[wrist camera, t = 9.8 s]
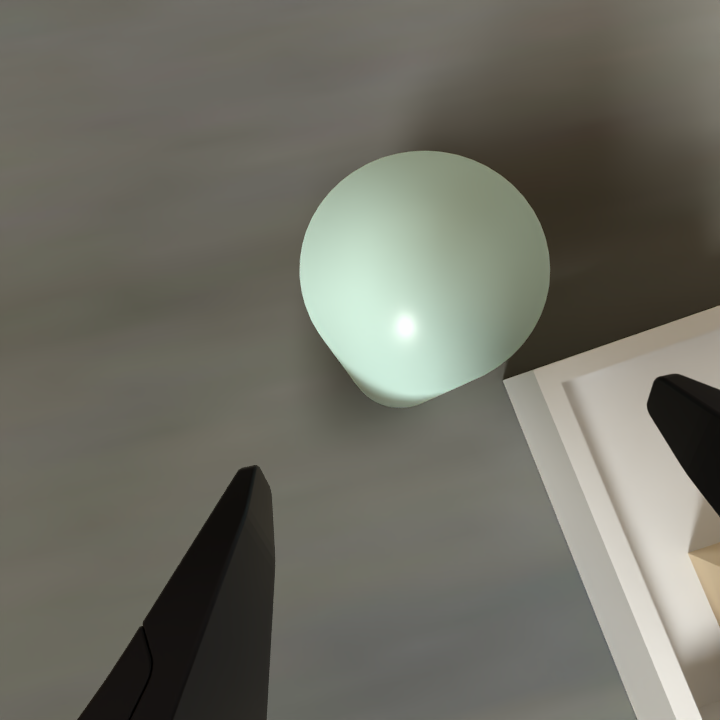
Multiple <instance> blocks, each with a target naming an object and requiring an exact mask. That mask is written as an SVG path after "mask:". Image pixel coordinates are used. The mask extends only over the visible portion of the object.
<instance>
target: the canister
mask: <svg viewBox="0 0 720 720" xmlns="http://www.w3.org/2000/svg"><path fill="white" fill-rule="evenodd" d="M549 281H550V260H549V251H548V247H547V242H546V238H545V235H544V232H543V230H542V227H541V224H540V222H539V220H538V218H537V216H536V214H535V213H534V211H533V209H532V208H531V206H530V205H529V203H528V202H527V201H526V199H525V198H524V196H523V195H522V194H521V193H520V192H519V191H518V190H517V189H516V188H515V187H514V186H513V185H512V184H511V183H510V182H509V181H507V180H506V179H505V178H504V177H502V176H501V175H500V174H498V173H497V172H495V171H494V170H492V169H490V168H489V167H487V166H485V165H483V164H481V163H479V162H477V161H474V160H472V159H469V158H466V157H463V156H460V155H456V154H451V153H446V152H438V151H410V152H404V153H398V154H394V155H390V156H387V157H383V158H380V159H378V160H375V161H373V162H371V163H368V164H366V165H364V166H363V167H361V168H359V169H358V170H356V171H354V172H353V173H351V174H350V175H349V176H347V177H346V178H345V179H343V180H342V181H341V182H340V183H339V184H338V185H337V186H336V187H335V188H333V189H332V190H331V191H330V193H329V194H328V195H327V196H326V198H325V199H324V200H323V201H322V203H321V204H320V205H319V207H318V209H317V210H316V212H315V214H314V215H313V217H312V219H311V222H310V224H309V226H308V228H307V231H306V234H305V238H304V241H303V244H302V250H301V257H300V282H301V290H302V295H303V298H304V302H305V306H306V308H307V311H308V313H309V316H310V318H311V321H312V322H313V324H314V326H315V327H316V329H317V331H318V333H319V334H320V336H321V337H322V338H323V340H324V341H325V343H326V344H327V345H328V347H329V348H330V349H331V351H332V352H333V354H334V355H335V356H336V358H337V359H338V360H339V362H340V363H341V365H342V366H343V367H344V369H345V370H346V371H347V373H348V374H349V375H350V377H351V378H352V380H353V381H354V382H355V384H356V385H357V386H358V388H359V389H360V390H361V391H362V392H363V393H364V394H365V395H366V396H367V397H368V398H370V399H371V400H373V401H375V402H376V403H379V404H381V405H384V406H387V407H392V408H408V407H413V406H416V405H419V404H421V403H424V402H426V401H428V400H430V399H433V398H435V397H437V396H439V395H441V394H444V393H446V392H448V391H450V390H452V389H455V388H457V387H459V386H461V385H464V384H466V383H468V382H470V381H472V380H475V379H477V378H479V377H481V376H483V375H485V374H487V373H489V372H490V371H492V370H494V369H495V368H497V367H499V366H500V365H501V364H502V363H504V362H505V361H506V360H507V359H509V358H510V357H511V356H512V355H513V354H514V353H515V352H516V351H517V350H518V349H519V348H520V347H521V346H522V345H523V344H524V342H525V341H526V340H527V338H528V337H529V335H530V334H531V333H532V331H533V330H534V328H535V326H536V324H537V322H538V320H539V318H540V316H541V313H542V311H543V308H544V305H545V302H546V298H547V294H548V289H549Z"/></svg>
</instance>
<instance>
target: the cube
mask: <svg viewBox="0 0 720 720" xmlns="http://www.w3.org/2000/svg"><path fill="white" fill-rule="evenodd" d="M688 555H689V557H690V560H691V562H692V564H693V567H694V569H695V571H696V574H697V576H698V578H699V581H700V583H701V585H702V588H703V590H704V592H705V595H706V597H707V599H708V602H709V604H710V606H711V609H712V611H713V613H714V616H715V618H716V620H717V623H718V625H719V627H720V542H719V543H716V544H713V545H710V546H707V547H704V548H701V549H698V550H695V551H692V552H689V553H688Z"/></svg>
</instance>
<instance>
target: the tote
mask: <svg viewBox="0 0 720 720" xmlns="http://www.w3.org/2000/svg"><path fill="white" fill-rule="evenodd" d="M668 374H680V375H683V376H686V377H689V378H691V379H694V380H696V381H699V382H702V383H704V384H707V385H709V386H712V387H715V388H717V389H720V305H719V306H716V307H713V308H710V309H707V310H705V311H702V312H699V313H696V314H693V315H690V316H687V317H684V318H681V319H679V320H676V321H673V322H670V323H667V324H664V325H661V326H658V327H655V328H652V329H650V330H647V331H644V332H641V333H638V334H635V335H632V336H629V337H626V338H624V339H621V340H618V341H615V342H612V343H609V344H606V345H603V346H600V347H598V348H595V349H592V350H589V351H586V352H583V353H580V354H577V355H574V356H571V357H569V358H566V359H563V360H560V361H557V362H554V363H551V364H548V365H545V366H543V367H540V368H537V369H534V370H531V371H528V372H525V373H522V374H519V375H516V376H514V377H511V378H508V379H505V380H503V383H504V385H505V388H506V390H507V393H508V395H509V398H510V400H511V403H512V405H513V408H514V410H515V413H516V415H517V418H518V420H519V423H520V425H521V428H522V430H523V433H524V435H525V438H526V440H527V443H528V445H529V448H530V450H531V453H532V456H533V458H534V461H535V463H536V466H537V468H538V471H539V473H540V476H541V478H542V481H543V483H544V486H545V488H546V491H547V493H548V496H549V498H550V501H551V503H552V506H553V508H554V511H555V513H556V516H557V518H558V521H559V523H560V526H561V528H562V531H563V533H564V536H565V539H566V541H567V544H568V546H569V549H570V551H571V554H572V556H573V559H574V561H575V564H576V566H577V569H578V571H579V574H580V576H581V579H582V581H583V584H584V586H585V589H586V591H587V594H588V596H589V599H590V601H591V604H592V606H593V609H594V611H595V614H596V617H597V619H598V622H599V624H600V627H601V629H602V632H603V634H604V637H605V639H606V642H607V644H608V647H609V649H610V652H611V654H612V657H613V659H614V662H615V664H616V667H617V669H618V672H619V674H620V677H621V679H622V682H623V684H624V687H625V689H626V692H627V695H628V697H629V700H630V702H631V705H632V707H633V710H634V712H635V715H636V717H637V720H720V627H719V625H718V623H717V620H716V618H715V616H714V613H713V611H712V609H711V606H710V604H709V602H708V599H707V597H706V595H705V592H704V590H703V588H702V585H701V583H700V581H699V578H698V576H697V574H696V571H695V569H694V567H693V564H692V562H691V560H690V557H689V555H688V553H689V552H692V551H695V550H698V549H701V548H704V547H707V546H710V545H713V544H716V543H719V542H720V517H719V516H718V514H717V513H716V512H715V511H714V509H713V508H712V507H711V505H710V504H709V503H708V502H707V500H706V499H705V498H704V496H703V495H702V494H701V492H700V491H699V490H698V489H697V487H696V486H695V485H694V483H693V482H692V481H691V479H690V478H689V477H688V475H687V474H686V472H685V471H684V469H683V468H682V466H681V465H680V463H679V462H678V460H677V459H676V457H675V455H674V454H673V452H672V451H671V449H670V447H669V446H668V444H667V442H666V441H665V439H664V438H663V436H662V434H661V433H660V431H659V430H658V428H657V426H656V425H655V423H654V421H653V420H652V418H651V417H650V415H649V413H648V410H647V400H648V397H649V394H650V391H651V388H652V384H653V382H654V380H655V379H656V378H657V377H659V376H664V375H668Z"/></svg>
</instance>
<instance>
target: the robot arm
mask: <svg viewBox="0 0 720 720" xmlns="http://www.w3.org/2000/svg"><path fill="white" fill-rule="evenodd" d="M647 410H648V413H649V415H650V417H651V418H652V420H653V421H654V423H655V425H656V426H657V428H658V430H659V431H660V433H661V434H662V436H663V438H664V439H665V441H666V442H667V444H668V446H669V447H670V449H671V451H672V452H673V454H674V455H675V457H676V459H677V460H678V462H679V463H680V465H681V466H682V468H683V469H684V471H685V472H686V474H687V475H688V477H689V478H690V479H691V481H692V482H693V483H694V485H695V486H696V487H697V489H698V490H699V491H700V492H701V494H702V495H703V496H704V498H705V499H706V500H707V502H708V503H709V504H710V505H711V507H712V508H713V509H714V511H715V512H716V513H717V514H718V516H719V517H720V389H717V388H715V387H712V386H709V385H707V384H704V383H702V382H699V381H696V380H694V379H691V378H689V377H686V376H683V375H680V374H668V375H664V376H659V377H657V378H656V379H655V380H654V382H653V384H652V388H651V391H650V394H649V397H648V400H647ZM274 579H275V545H274V527H273V510H272V494H271V489H270V486H269V484H268V482H267V480H266V479H265V477H264V475H263V473H262V471H261V469H260V467H259V466H257V465H253V466H249V467H244V468H241V469H240V470H238V472H237V473H236V475H235V476H234V478H233V479H232V481H231V483H230V484H229V486H228V487H227V489H226V491H225V492H224V494H223V495H222V497H221V499H220V500H219V502H218V503H217V505H216V507H215V508H214V510H213V511H212V513H211V514H210V516H209V518H208V519H207V521H206V522H205V524H204V526H203V527H202V529H201V530H200V532H199V534H198V535H197V537H196V538H195V540H194V542H193V543H192V545H191V546H190V548H189V549H188V551H187V553H186V554H185V556H184V557H183V559H182V561H181V562H180V564H179V565H178V567H177V569H176V570H175V572H174V573H173V575H172V577H171V578H170V580H169V581H168V583H167V584H166V586H165V588H164V589H163V591H162V592H161V594H160V596H159V597H158V599H157V600H156V602H155V604H154V605H153V607H152V608H151V610H150V612H149V613H148V615H147V616H146V618H145V620H144V621H143V626H141V627H139V629H138V630H137V632H136V634H135V635H134V637H133V638H132V640H131V642H130V643H129V645H128V646H127V648H126V649H125V651H124V652H123V654H122V655H121V657H120V659H119V660H118V662H117V663H116V665H115V666H114V668H113V669H112V671H111V672H110V674H109V675H108V677H107V678H106V680H105V681H104V683H103V684H102V685H101V687H100V688H99V690H98V691H97V693H96V694H95V695H94V697H93V698H92V700H91V701H90V702H89V704H88V705H87V707H86V708H85V710H84V711H83V712H82V714H81V715H80V717H79V718H78V719H77V720H267V702H268V685H269V667H270V649H271V632H272V614H273V596H274Z"/></svg>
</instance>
